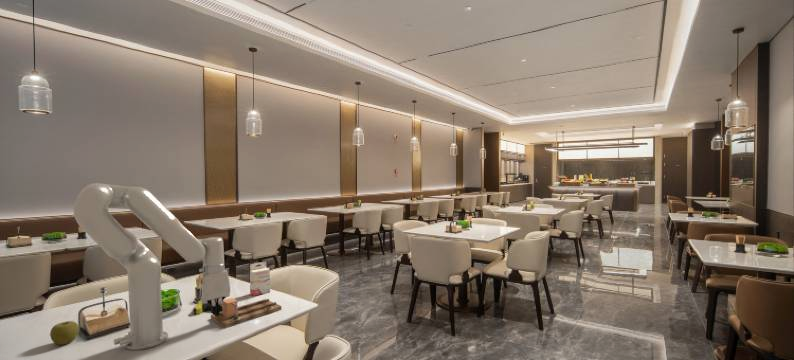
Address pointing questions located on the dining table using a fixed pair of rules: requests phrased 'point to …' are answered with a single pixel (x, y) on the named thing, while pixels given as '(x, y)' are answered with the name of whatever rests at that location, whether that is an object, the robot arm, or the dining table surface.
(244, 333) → the dining table surface
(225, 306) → the orange tan block
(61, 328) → the apple
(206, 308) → the stun gun
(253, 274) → the ink cartridge box
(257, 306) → the wooden slatted tray
